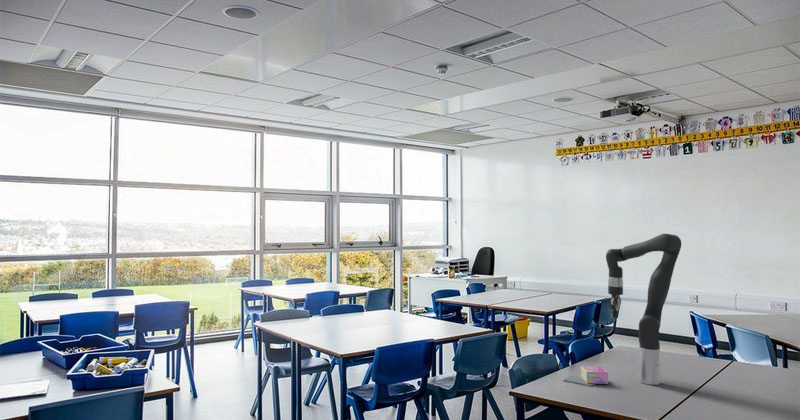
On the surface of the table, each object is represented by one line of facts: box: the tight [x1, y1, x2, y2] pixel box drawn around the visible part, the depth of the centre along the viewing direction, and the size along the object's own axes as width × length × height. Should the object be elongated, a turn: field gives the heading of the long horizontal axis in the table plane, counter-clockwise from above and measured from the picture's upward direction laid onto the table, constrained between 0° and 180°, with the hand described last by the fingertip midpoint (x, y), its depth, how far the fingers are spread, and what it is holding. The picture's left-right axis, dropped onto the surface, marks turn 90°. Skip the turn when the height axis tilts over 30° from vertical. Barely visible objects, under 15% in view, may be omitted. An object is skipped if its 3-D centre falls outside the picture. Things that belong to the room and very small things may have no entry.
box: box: [580, 365, 609, 385], centre depth 267 cm, size 10×6×12 cm
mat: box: [563, 375, 596, 388], centre depth 267 cm, size 14×10×1 cm
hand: (615, 317), depth 291 cm, fingers closed
